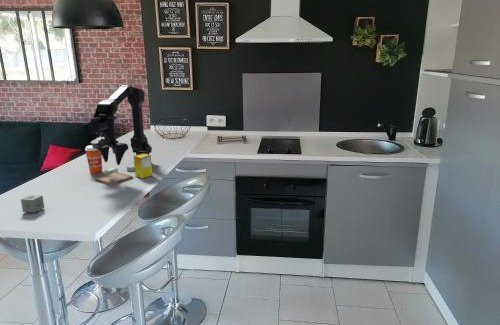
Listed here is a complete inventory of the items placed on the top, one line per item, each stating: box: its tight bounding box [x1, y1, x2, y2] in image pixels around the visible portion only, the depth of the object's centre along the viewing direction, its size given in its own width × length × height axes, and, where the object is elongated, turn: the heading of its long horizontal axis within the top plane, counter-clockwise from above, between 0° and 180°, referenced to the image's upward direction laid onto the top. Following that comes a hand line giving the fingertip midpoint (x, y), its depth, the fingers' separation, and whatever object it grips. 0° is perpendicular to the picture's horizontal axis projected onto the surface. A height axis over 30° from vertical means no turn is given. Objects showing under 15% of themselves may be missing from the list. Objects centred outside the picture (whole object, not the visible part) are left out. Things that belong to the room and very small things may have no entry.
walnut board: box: [94, 171, 134, 186], centre depth 171 cm, size 12×12×2 cm
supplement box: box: [133, 154, 153, 180], centre depth 174 cm, size 6×6×11 cm
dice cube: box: [20, 194, 45, 214], centre depth 136 cm, size 5×5×5 cm
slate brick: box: [126, 163, 135, 172], centre depth 185 cm, size 6×3×3 cm, turn 162°
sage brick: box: [104, 167, 119, 176], centre depth 179 cm, size 6×3×3 cm, turn 162°
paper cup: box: [84, 145, 103, 175], centre depth 180 cm, size 8×8×14 cm
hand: (112, 163), depth 169 cm, fingers open, 9 cm apart
